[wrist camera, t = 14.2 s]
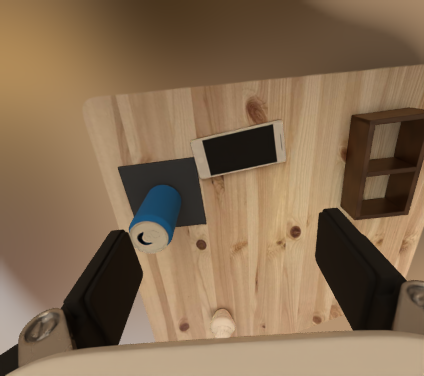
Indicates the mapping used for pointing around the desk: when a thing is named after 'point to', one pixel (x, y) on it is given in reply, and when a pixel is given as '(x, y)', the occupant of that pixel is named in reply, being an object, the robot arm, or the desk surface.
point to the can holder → (383, 164)
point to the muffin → (222, 324)
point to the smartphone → (239, 149)
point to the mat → (172, 176)
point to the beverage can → (155, 219)
